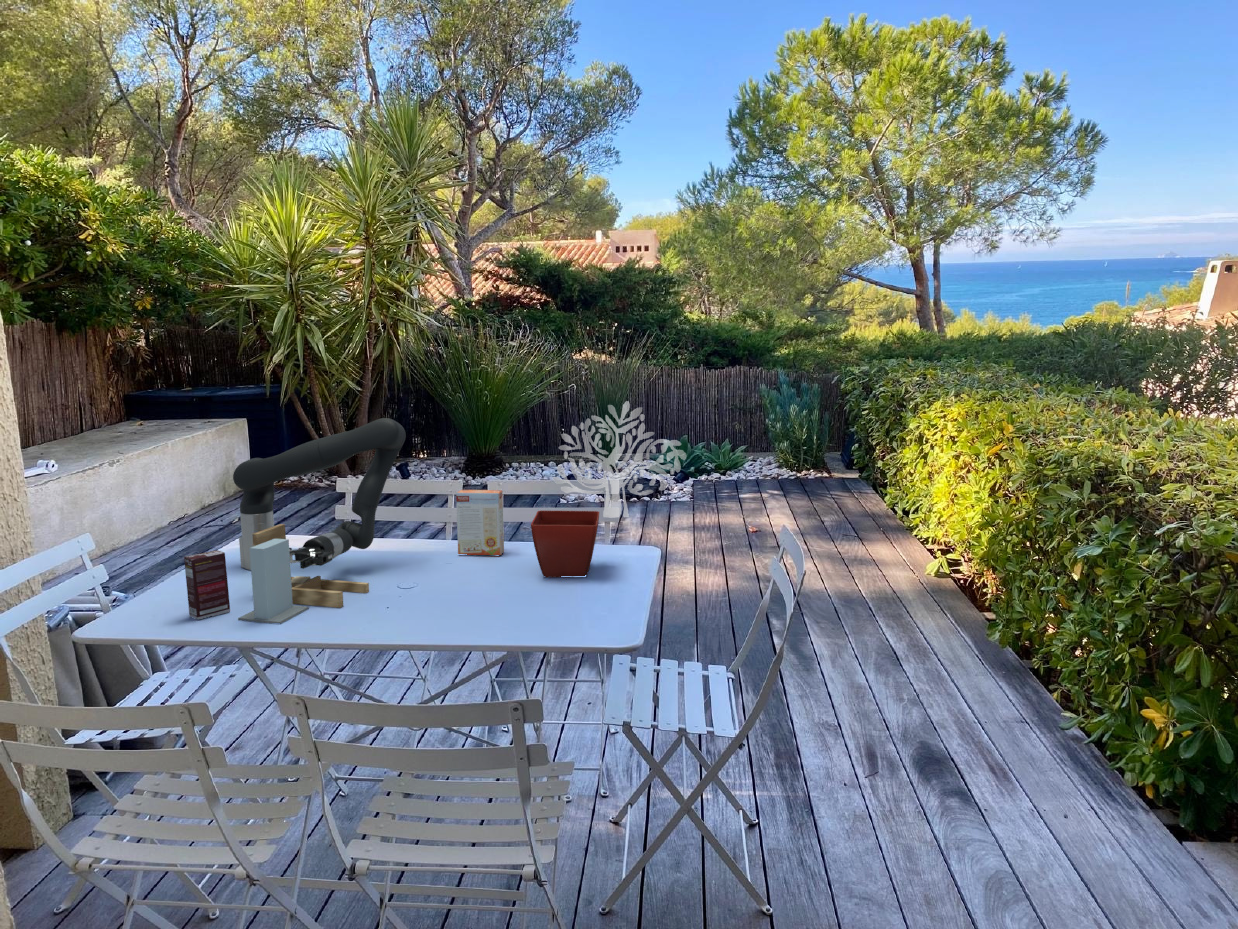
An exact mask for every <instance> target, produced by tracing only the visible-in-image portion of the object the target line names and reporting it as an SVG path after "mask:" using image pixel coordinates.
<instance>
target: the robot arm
mask: <svg viewBox="0 0 1238 929" xmlns="http://www.w3.org/2000/svg"><path fill="white" fill-rule="evenodd" d="M406 438H407V436H406V430H405V428H404V427H403V425H401V423H399V422H398V421H396V420H394V419H392V418H390V417H389V418H388V417H382V418H379V419H375V420H373V421H370V422H369V423H368V422H367V423H366V424H364V425H361V426H358V427H356V428H354V429H351V430H348V431H344V432H339V433H336V434H331V435H328V436H324V437H321V438H317V439H314V440H313V439H312V440H310V441H306V442H305V443H302V444H299V445H297V446H295V447H292V448H290V449H288V450H286V451H284V452H281V453H279V454H276V455H273V456H269V457H266V458H261V457H254V458H249V459H248V460H247V459H246V460H245V461H243V462H241V463H239V465H238V466H236V468H235V469H234V471H233V475H232V478H233V483H234V484H235V486H236V487H238V488H239V489H240V490H242V494H243V495H242V498H241V501H240V504H239V512H240V513H239V514H240V515H239V516H240V526H241V527H240V528H241V536H239V537H238V541H239V544H238V545H239V556H240V558H239V559H240V568H243V569H244V570H245V569H246V570H248V571H249V570H250V571H251V561H250V548H251V547H253V535H252V534H254V533H257V532H259V531H262V530H265V529H268V528H271V527H274V526H275V519H274V501H275V483H276V482H279V481H283V480H284V479H289V478H293V477H298V476H304V475H309V474H312V473H316V472H321V471H324V470H326V469H329V468H333V467H335V466H337V465H340V464H342V463H343V462H345V461H347V460H348V459H350V458H352V457H353V456H355V455H358V454H360V453H364V452H367V451H372V450H375V452H374V454H373V457H372V461H371V463H370V466H369V467H368V470H366V473H365V474H364V476H363V477H362V479H361V481H360V483H359V485H358V488H357V491H356V492H355V493H356V494H355V496H354V499H353V503H352V506H351V511H352V512H353V514H354V515H355V514H356V515H357V516H358V517H360V519H361V523H359V522H357V521H356V522H355V521H351V520H345V521H342V522H341V523H340V524H339V525H337V527H336V528H335V529H334V530H332V531H330V532H327V533H322V534H320V535H318V536H315V537H312V538H309V539H308V540H306V541H305V542H304V543H303V545H302V546H301V547H298V548H294V549H293V548H292V547H289V553H290V564H297V563H299V564H300V565H299V567H300V569H303V570H304V569H306V568H308V567H311V566H312V567H314V566H325V564H328V563H329V562H331V561H333V559H336V557H338V556H340V555H343V554H345V553H347V552H348V551H349V550H350V549H351V548H352V547H353V548H356V549H360V550H367V548H369V547H370V546H371V544H372V543H373V541H374V539H375V538H374V537H375V524H376V522H375V521H376V512H377V509H378V506H379V504H380V500H381V497H382V493H383V490H384V487H385V484H386V482H387V480H388V477H389V474H390V472H391V469H392V468H393V465H394V463H395V461H396V458H397V457H398V455H399V453H400V451H401V449H402V447H403V445H404V443H405V441H406ZM293 556H294V559H293Z"/></svg>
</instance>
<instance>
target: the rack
mask: <svg viewBox="0 0 1238 929" xmlns="http://www.w3.org/2000/svg"><path fill="white" fill-rule="evenodd" d="M252 535H253V547H254V546H256V545H259V544H262V543H264V542H267V541H270V540H272V539H287V537H286V536H287V535H286V524H285V523H279V524H277V525H274V527H271V528H268V529H265V530H262V531H259V532H257V533H254V534H252ZM294 577H295V576H291V580H292V579H293V578H294ZM344 592H347V593H358V594H359V593H361V594H367V593H369V592H370V584H369V582H362V581H351V580H349V581H348V580H338V579H336V580H335V579H323V578H322V576H321V575H316V576H314V577H310V580H308V581H306V582H303V583H301V584H299V585H297V586H295V587H292V601H293V605H300V606H312V607H313V606H315V607H324V608H326V607H327V608H336V609H341V608H343V607H344Z"/></svg>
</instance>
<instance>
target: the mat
mask: <svg viewBox="0 0 1238 929" xmlns="http://www.w3.org/2000/svg"><path fill="white" fill-rule="evenodd" d="M309 609H310V608H309V606H307V605H295V604H293V607H291V608H289V609H287V610H285V611H283V612H282V613H280V614H278V615H276V616H274V617H272V618H270V619H261V618H254V609H253V610H252V611H249V612H247V613H245V614H243V615H241V616H239V617H238V618H237V620H238V621H240V620H247V621H246V622H251V621H254V622H255V623H263V624H272V623H282V624H284V623H285V622H288V621H289V620H291V619H293V618H295V617H296V616H299V615H300V614H302V613H304V612H306V611H308V610H309ZM254 622H253V623H254ZM283 622H284V623H283Z"/></svg>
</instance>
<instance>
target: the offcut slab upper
mask: <svg viewBox="0 0 1238 929" xmlns="http://www.w3.org/2000/svg"><path fill="white" fill-rule="evenodd" d="M293 577H294V578H293V579H292V580H291V585H292V587H295V586H297V585H299V584H301V583H303V582H306V581H308V580H310V578H311V576H308V575H307V576H306V575H305V576H299V575H297V576H296V575H295V576H293Z"/></svg>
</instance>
